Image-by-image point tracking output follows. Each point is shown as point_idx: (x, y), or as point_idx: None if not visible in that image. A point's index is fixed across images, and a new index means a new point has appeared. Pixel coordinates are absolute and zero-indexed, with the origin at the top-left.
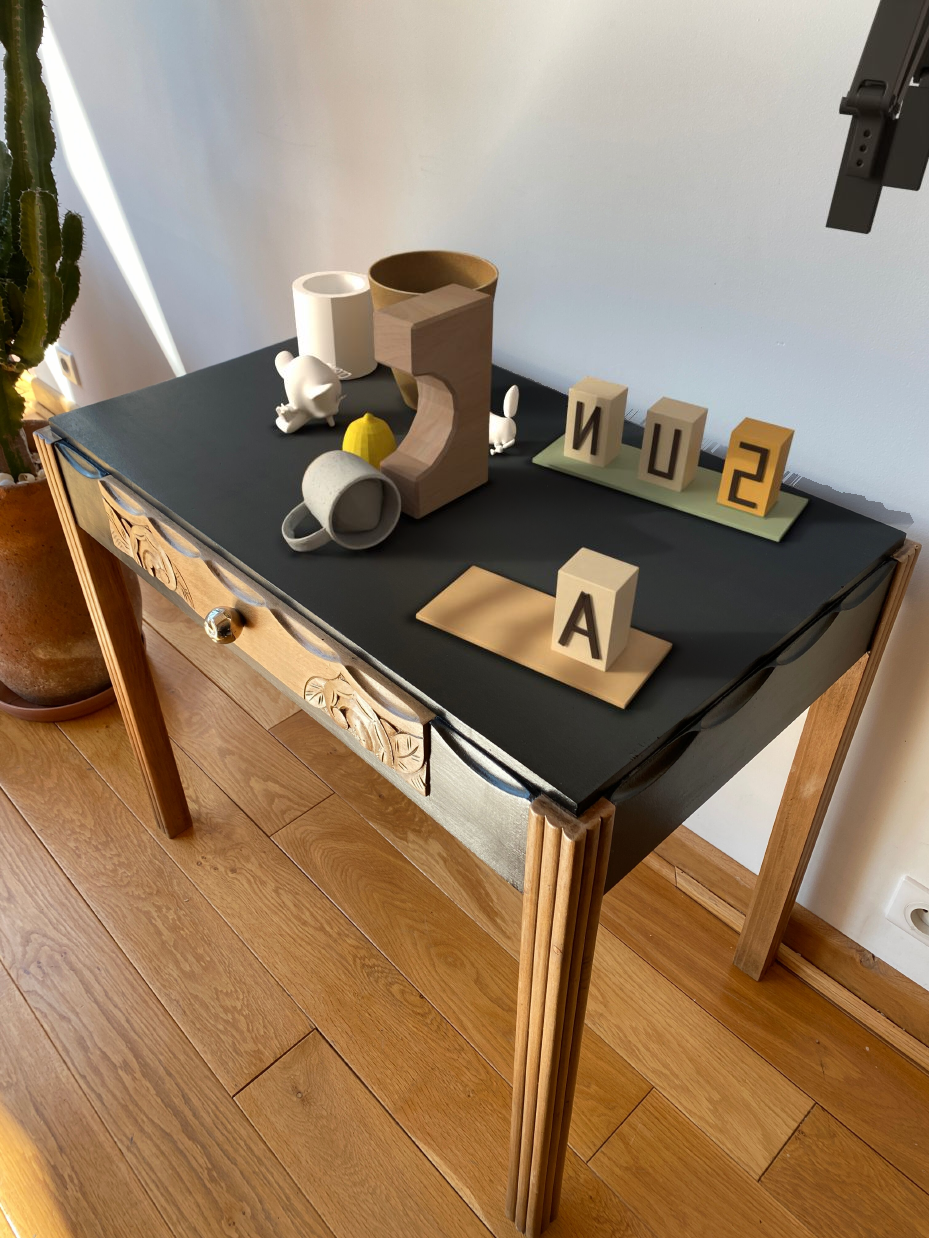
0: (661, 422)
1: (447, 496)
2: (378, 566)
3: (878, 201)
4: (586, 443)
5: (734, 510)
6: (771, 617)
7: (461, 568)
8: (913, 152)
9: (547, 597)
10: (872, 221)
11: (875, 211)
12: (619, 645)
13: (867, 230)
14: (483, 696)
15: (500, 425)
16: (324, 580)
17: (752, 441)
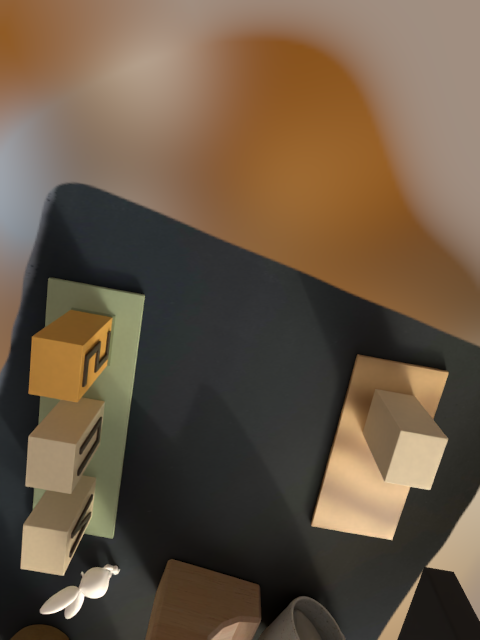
0: (76, 471)
1: (224, 580)
2: (334, 583)
3: (457, 637)
4: (87, 510)
5: (112, 346)
6: (277, 282)
7: (312, 531)
8: None
9: (332, 462)
10: (443, 591)
11: (449, 613)
12: (396, 397)
13: (458, 581)
14: (463, 464)
15: (98, 589)
16: (368, 608)
17: (81, 375)
